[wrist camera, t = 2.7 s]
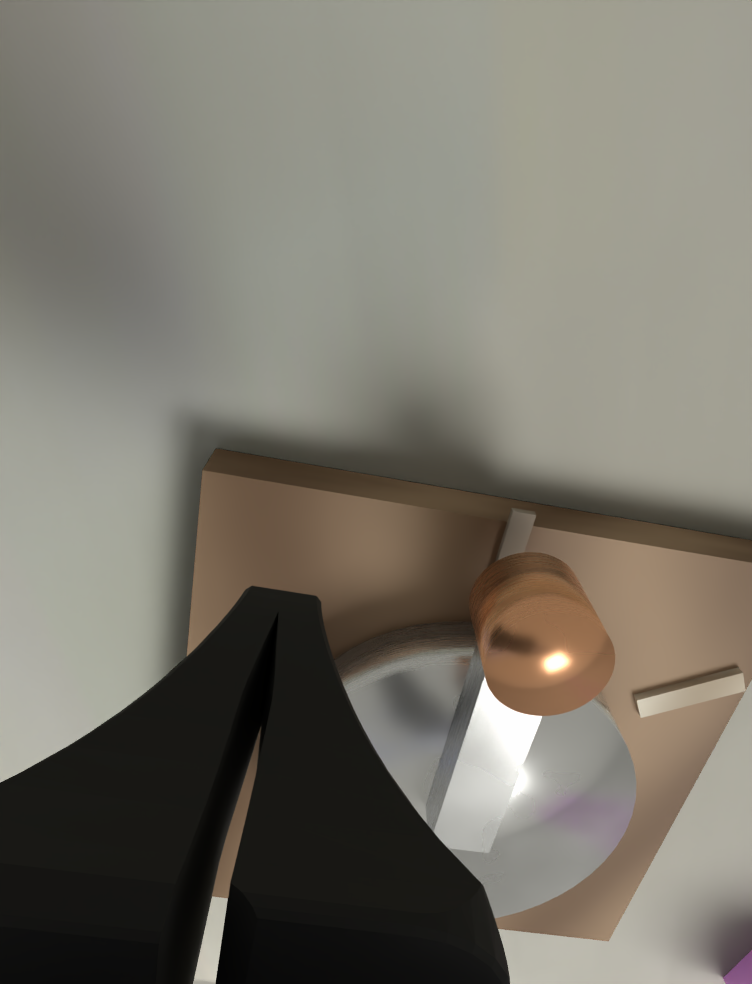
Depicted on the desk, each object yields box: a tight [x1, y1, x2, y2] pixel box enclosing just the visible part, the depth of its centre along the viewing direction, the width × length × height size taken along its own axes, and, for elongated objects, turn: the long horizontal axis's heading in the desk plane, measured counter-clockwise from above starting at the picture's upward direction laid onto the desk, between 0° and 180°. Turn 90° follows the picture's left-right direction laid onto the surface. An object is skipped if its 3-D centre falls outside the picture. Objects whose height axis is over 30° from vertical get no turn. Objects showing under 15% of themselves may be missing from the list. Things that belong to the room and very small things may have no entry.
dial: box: [334, 552, 636, 918], centre depth 17 cm, size 13×10×4 cm
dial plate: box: [187, 449, 752, 941], centre depth 20 cm, size 16×16×2 cm
